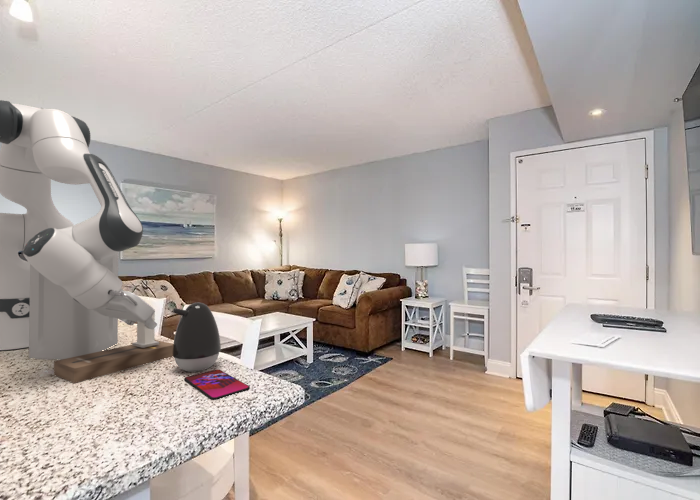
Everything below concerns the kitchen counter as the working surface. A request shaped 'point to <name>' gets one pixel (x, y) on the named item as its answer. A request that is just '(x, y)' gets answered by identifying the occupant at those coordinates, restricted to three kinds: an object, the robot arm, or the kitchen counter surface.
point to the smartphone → (216, 384)
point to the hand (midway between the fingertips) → (143, 324)
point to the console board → (110, 361)
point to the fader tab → (145, 335)
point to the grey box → (66, 320)
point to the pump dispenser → (196, 338)
